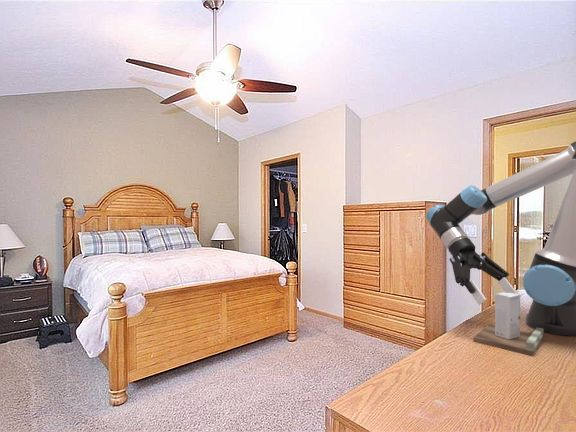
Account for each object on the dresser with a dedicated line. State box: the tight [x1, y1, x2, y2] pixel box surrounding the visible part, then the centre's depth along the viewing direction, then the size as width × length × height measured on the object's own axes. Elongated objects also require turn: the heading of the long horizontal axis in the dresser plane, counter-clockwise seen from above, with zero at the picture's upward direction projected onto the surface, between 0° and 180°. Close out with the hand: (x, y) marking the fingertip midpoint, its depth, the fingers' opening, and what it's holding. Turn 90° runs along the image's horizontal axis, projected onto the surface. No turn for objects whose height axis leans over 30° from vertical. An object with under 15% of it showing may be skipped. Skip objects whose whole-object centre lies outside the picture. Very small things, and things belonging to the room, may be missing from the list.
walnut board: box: [473, 324, 544, 357], centre depth 100 cm, size 16×14×3 cm
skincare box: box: [494, 291, 521, 340], centre depth 100 cm, size 6×4×12 cm
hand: (499, 300), depth 102 cm, fingers open, 13 cm apart
